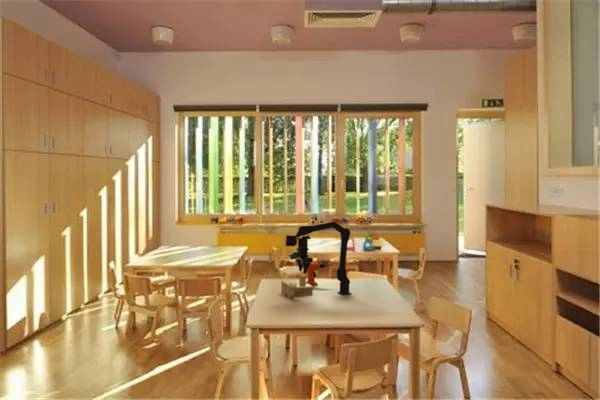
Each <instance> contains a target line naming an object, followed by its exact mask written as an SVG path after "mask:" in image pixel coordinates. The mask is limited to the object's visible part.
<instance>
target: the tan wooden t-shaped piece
mask: <svg viewBox="0 0 600 400" xmlns="http://www.w3.org/2000/svg"><path fill="white" fill-rule="evenodd" d="M313 289H314V288H313V287H311V288H297V289H292V286H291V285H290V283H288V282H286V281H284V280H281V293H282V294H283V295H284V296H286V297H288V298H289V299H291V300H292V299H295V296H303V295H313V291H314V290H313Z"/></svg>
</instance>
